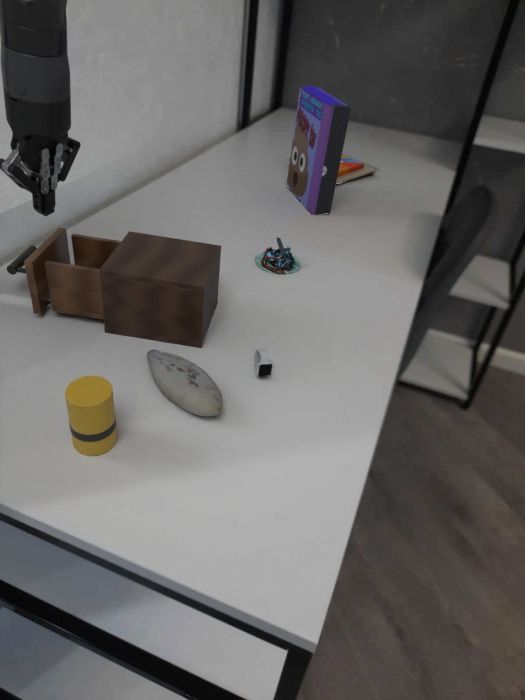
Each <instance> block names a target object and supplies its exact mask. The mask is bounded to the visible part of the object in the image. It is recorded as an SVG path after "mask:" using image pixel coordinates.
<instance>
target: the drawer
mask: <svg viewBox="0 0 525 700" xmlns="http://www.w3.org/2000/svg"><path fill="white" fill-rule="evenodd" d="M70 238H71V245H72V253H73V254H72V255H73V261H74V264H72V263H71V255H70V248H69V240H68V233H67V228H65V227H58V228H56V230H55V231H53V233H52V234H51V235H50V236H48V237H47V238H46V239H45V240H44V241H43V242H42V244H40V245H39V246H38V247H36V246H35V245H29V246H28V247H27V248H26V249H24V250H23V252H21V253H20V254H19V255H18V256H16V258H15V259H13V261H11V263H9V265H8V266H6V271H7V273H8V274H10V275H11V276H12V275H17V273H20V274H25V275H26V280H27V285H28V290H29V295H30V300H31V306H32V311H33V314H36V315H42V314H43V313H44V312H45V311H46V309H47V308H48V307H49V306H50V305H51V310H52V312H54V313H62V314H67V315H73V316H78V317H79V316H80V317H86V318H92V319H98V320H104V313H103V303H102V292H101V281H100V271H99V270H100V268H101V267H102V266H103V264H104V263H105V262H106V261H107V259H108V258H109V257H110V255H111V254H112V253H113V252H114V250H115V249H116V248H117V246H118V245H119V244H120V242H121V241H122V240H116V239H110V238H104V237H97V236H92V235H91V236H90V235H85V234H79V233H72V234H71V235H70Z"/></svg>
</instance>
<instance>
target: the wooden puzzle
mask: <svg viewBox="0 0 525 700" xmlns="http://www.w3.org/2000/svg"><path fill="white" fill-rule="evenodd" d="M370 173H374V174H376V170H375V169H374V168H372V167H369V166H367V165H365V163H364V162H362V161H360V160H358V159H356V158H353V157H350V156H348V155H346V154H343V153H342V156H341V161H340V166H339V171H338V176H337V181H336V183H340V182H344V181H347V182H349V181H348V180H350V181H352V180H351V179H353V180H356V179H358V178H361V177H363V176H367V175H369V174H370ZM355 178H356V179H355Z"/></svg>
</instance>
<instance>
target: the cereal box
mask: <svg viewBox="0 0 525 700" xmlns="http://www.w3.org/2000/svg"><path fill="white" fill-rule="evenodd" d="M298 92H299V94H298V100H297V108H296V114H295V122H294V128H293V135H292V136H293V137H292V142H291V148H290V149H291V151H290V157H289V164H288V172H287V179H286V185H287V186H288V187H289V189H290V190H291V191H292V192H293V193H294V194H295V196H296V197H297V198H298V199H299V200H300V201H301V202H302V204H303V205H304V206H305V207H306V208H307V209H308V210H307V209H306V208H305V207H304V206H303V205H302V204H301V205H302V206H303V207H304V208H305V209H306V210H307V212H308V213H309V212H310V213H311V214H323V213H324V214H325V213H330V214H331V211H332V207H333V206H332V205H333V200H334V197H335V191H336V186H337V185H336V181H337V176H338V171H339V166H340V161H341V156H342V154H343V151H344V145H345V141H346V135H347V130H348V125H349V121H350V115H351V110H352V107H351V106H349V105H348V104H347V103H344V102H342V100H340V99H338V98H337V97H335V96H333V95H331V94H330V93H328V92H327V91H325V90H324V89H322V88H320V87H317V86H312V85H311V86H309V85H308V86H307V85H306V86H305V85H304V86H299V91H298ZM289 189H288V190H289ZM290 190H289V191H290ZM291 191H290V192H291ZM295 196H294V197H295ZM296 197H295V198H296ZM297 198H296V199H297ZM298 199H297V200H298ZM299 200H298V201H299ZM300 201H299V202H300ZM310 213H309V214H310ZM311 214H310V215H311ZM325 215H326V214H325Z"/></svg>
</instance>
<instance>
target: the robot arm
mask: <svg viewBox="0 0 525 700" xmlns="http://www.w3.org/2000/svg"><path fill="white" fill-rule="evenodd" d="M67 6H68V0H0V70H1V80H2V81H1V82H2V91H3V100H4V111H5V118H6V119H5V120H6V122H7V124H8V125H9V127H10V130H11V133H12V135H11V140H10V142H9V143H10V149H11V151H10V153H9V154H8V156H7V158H6V159H5V158H1V157H0V170H1V172H3V174H5V175H6V176H7V177H8V178H9V179H10V180H11V181H12V182H13V183H14V184H15V185H16V186H17V187H18V188H20V189H22V190H25V191H27V192H29V193H30V194H31V198H32V208H33V211H36V213H38V214H39V215H41V216H44V217H48V216H50V215H52V214H54V213H55V208H56V204H57V203H56V201H57V200H56V190H57V188H58V186H59V185H58V184H59V182H62V183H63V182H65V181H66V180H67V177H68V175H69V173H70V171H71V169H72V166H73V164H74V162H75V159H76V158H77V155H78V153H79V151H80V148H81V142H80V141H79V140H76V139H74V138H72V137H70V136H69V131H70V130H71V127H72V100H71V96H72V95H71V93H72V91H71V67H70V61H69V52H68V50H69V49H68V48H69V47H68V17H67ZM62 163H63V164H62Z"/></svg>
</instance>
